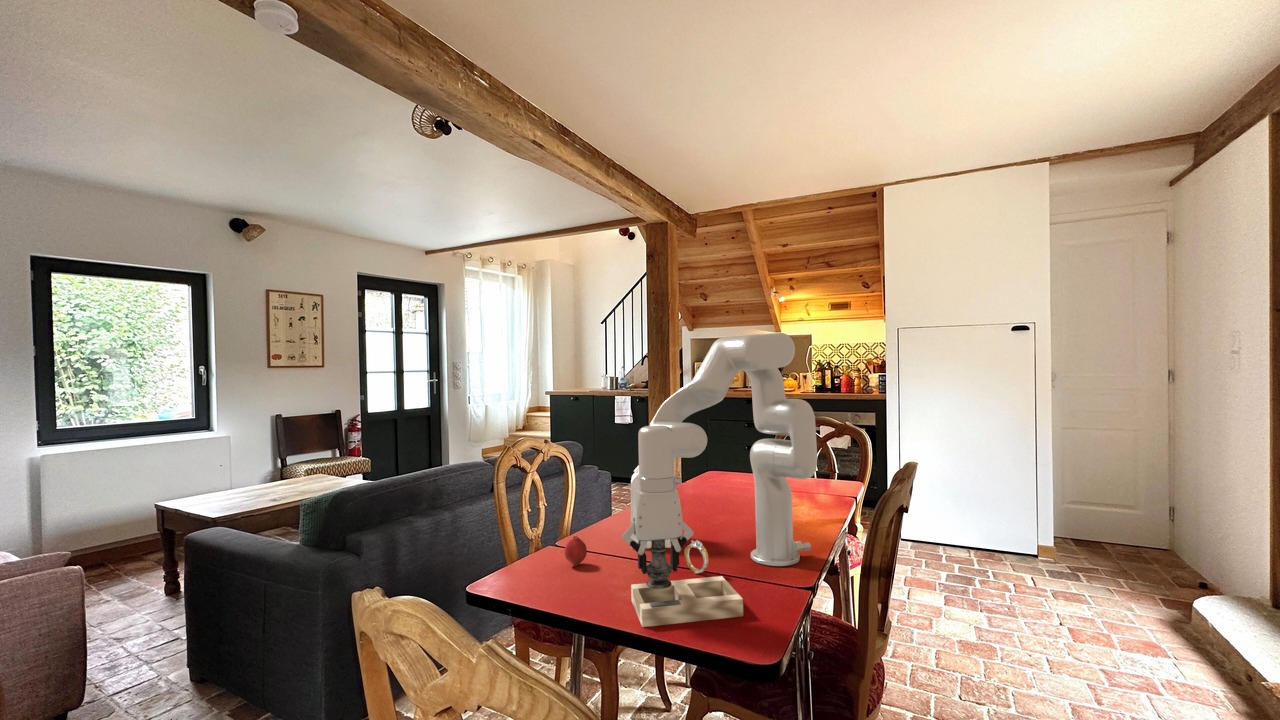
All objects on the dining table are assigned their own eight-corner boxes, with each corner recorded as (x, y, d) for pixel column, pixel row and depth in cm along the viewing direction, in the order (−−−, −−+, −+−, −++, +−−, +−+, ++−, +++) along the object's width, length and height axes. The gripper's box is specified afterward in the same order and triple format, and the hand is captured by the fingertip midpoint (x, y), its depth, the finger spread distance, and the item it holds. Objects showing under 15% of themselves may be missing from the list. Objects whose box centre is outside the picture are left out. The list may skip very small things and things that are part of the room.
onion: (565, 562, 148) (564, 532, 148) (587, 561, 149) (586, 531, 149) (564, 570, 142) (563, 538, 143) (586, 568, 143) (586, 537, 143)
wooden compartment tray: (722, 591, 126) (722, 575, 126) (743, 616, 113) (742, 597, 114) (631, 600, 122) (631, 583, 123) (642, 627, 110) (641, 608, 110)
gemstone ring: (711, 575, 136) (710, 542, 136) (701, 578, 134) (700, 545, 134) (691, 567, 142) (690, 536, 142) (682, 570, 140) (681, 539, 140)
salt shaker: (670, 590, 114) (669, 531, 114) (642, 588, 115) (641, 530, 115) (674, 579, 119) (673, 523, 120) (648, 578, 120) (646, 522, 121)
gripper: (691, 479, 123) (693, 561, 122) (614, 483, 120) (615, 567, 119) (701, 485, 115) (703, 573, 115) (619, 490, 112) (620, 580, 112)
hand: (658, 569), depth 117 cm, fingers closed on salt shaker, 5 cm apart
